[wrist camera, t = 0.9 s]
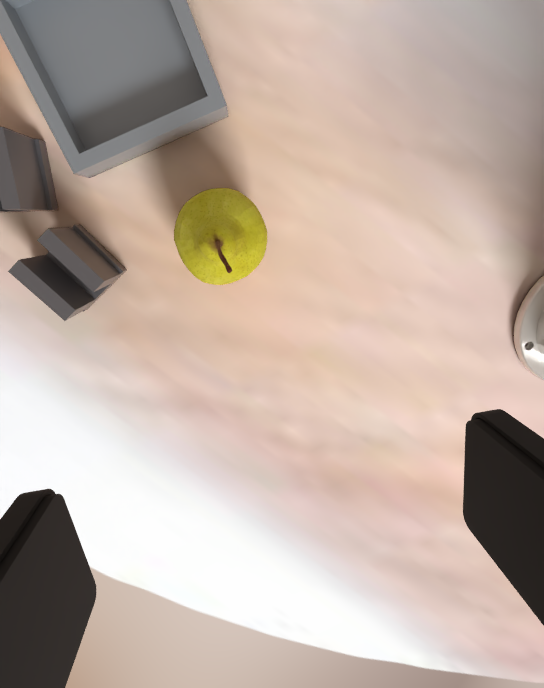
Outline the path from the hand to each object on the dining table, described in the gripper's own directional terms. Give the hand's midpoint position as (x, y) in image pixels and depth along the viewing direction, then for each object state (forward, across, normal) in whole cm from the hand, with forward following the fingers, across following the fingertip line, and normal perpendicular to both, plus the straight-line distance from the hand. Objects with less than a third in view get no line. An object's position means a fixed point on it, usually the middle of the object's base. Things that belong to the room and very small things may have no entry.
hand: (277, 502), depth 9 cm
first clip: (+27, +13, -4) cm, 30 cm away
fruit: (+27, +1, -5) cm, 28 cm away
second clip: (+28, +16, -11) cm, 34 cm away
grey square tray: (+27, +6, -18) cm, 33 cm away
